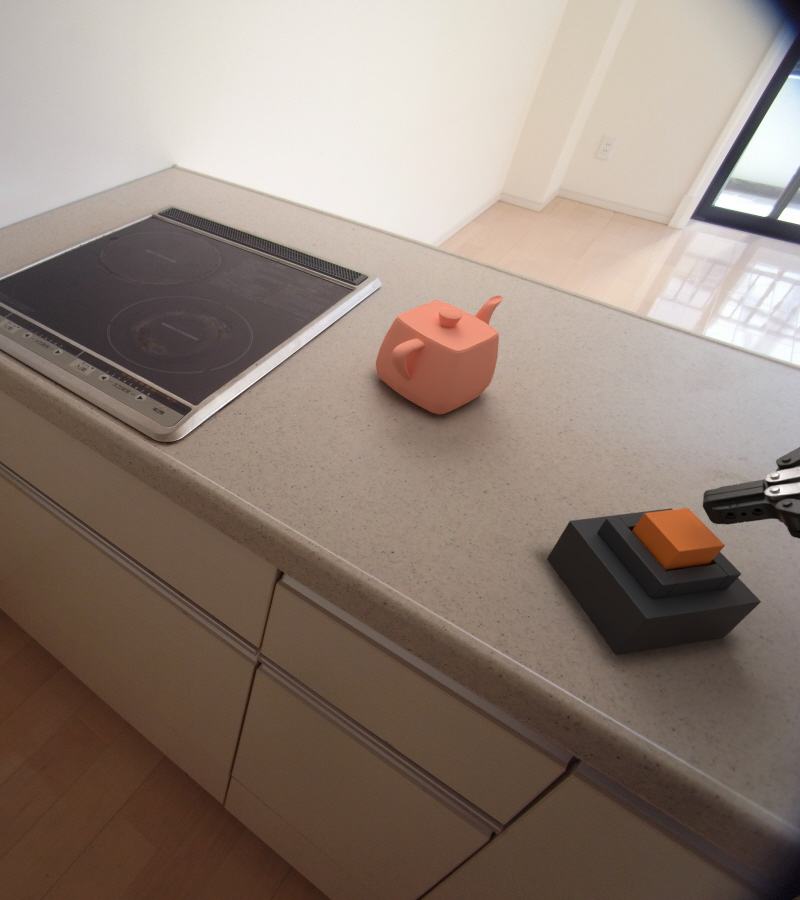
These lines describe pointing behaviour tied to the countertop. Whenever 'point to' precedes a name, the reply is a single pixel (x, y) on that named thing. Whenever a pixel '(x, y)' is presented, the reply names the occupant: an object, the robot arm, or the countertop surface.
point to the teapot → (440, 355)
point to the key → (677, 538)
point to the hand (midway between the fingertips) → (707, 508)
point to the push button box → (646, 588)
